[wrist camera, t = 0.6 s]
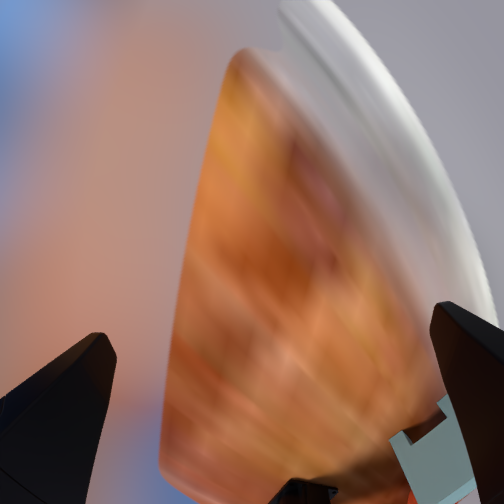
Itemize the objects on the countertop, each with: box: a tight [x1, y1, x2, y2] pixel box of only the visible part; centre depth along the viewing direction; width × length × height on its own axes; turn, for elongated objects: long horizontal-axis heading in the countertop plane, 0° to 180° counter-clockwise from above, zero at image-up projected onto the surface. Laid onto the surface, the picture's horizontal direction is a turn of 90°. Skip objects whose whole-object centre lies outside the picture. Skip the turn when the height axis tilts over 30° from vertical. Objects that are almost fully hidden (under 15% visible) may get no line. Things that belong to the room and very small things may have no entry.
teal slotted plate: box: [389, 394, 477, 504], centre depth 22 cm, size 8×2×11 cm, turn 132°
